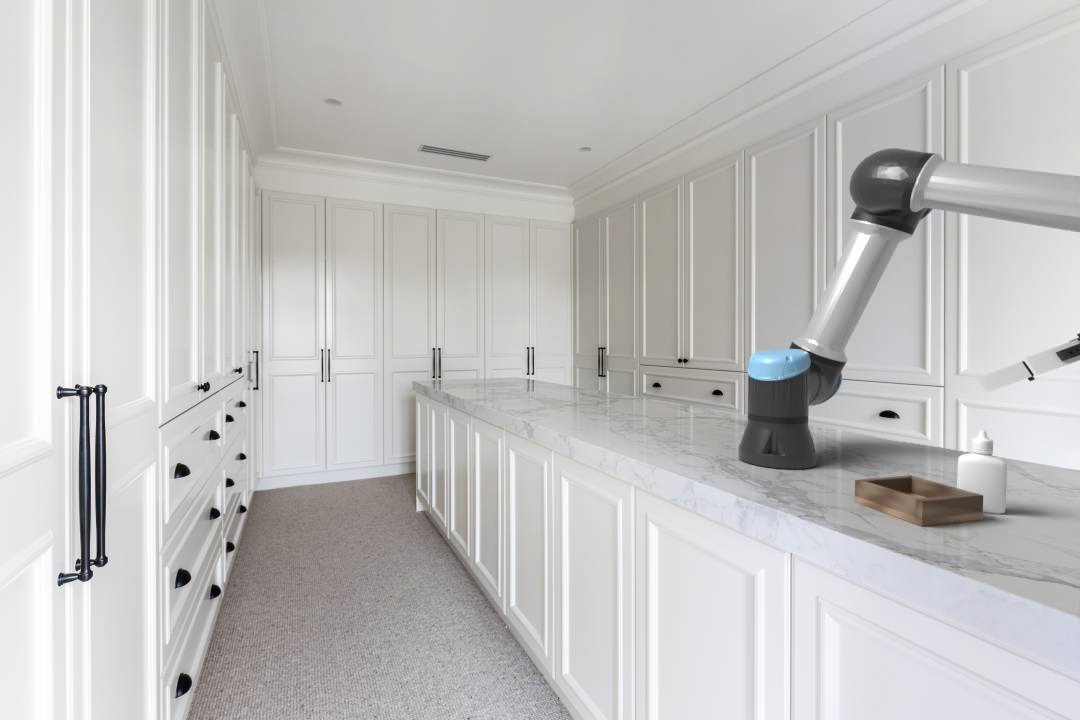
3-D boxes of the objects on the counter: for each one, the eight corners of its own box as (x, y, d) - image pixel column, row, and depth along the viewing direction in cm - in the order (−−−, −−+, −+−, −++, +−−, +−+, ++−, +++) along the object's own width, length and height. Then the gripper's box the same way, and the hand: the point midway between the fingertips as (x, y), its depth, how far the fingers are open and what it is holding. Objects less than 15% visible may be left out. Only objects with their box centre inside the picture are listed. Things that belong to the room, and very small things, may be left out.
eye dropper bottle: (966, 502, 81) (969, 426, 81) (1010, 513, 76) (1014, 432, 75) (950, 505, 79) (953, 428, 79) (994, 517, 74) (997, 434, 74)
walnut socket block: (854, 501, 81) (855, 479, 81) (909, 496, 84) (910, 475, 84) (921, 526, 70) (922, 501, 70) (982, 519, 73) (983, 495, 73)
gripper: (1270, 315, 61) (1074, 383, 65) (1117, 362, 84) (979, 410, 89) (1223, 263, 64) (1037, 332, 68) (1086, 322, 87) (954, 371, 91)
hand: (1004, 376), depth 78 cm, fingers open, 13 cm apart
